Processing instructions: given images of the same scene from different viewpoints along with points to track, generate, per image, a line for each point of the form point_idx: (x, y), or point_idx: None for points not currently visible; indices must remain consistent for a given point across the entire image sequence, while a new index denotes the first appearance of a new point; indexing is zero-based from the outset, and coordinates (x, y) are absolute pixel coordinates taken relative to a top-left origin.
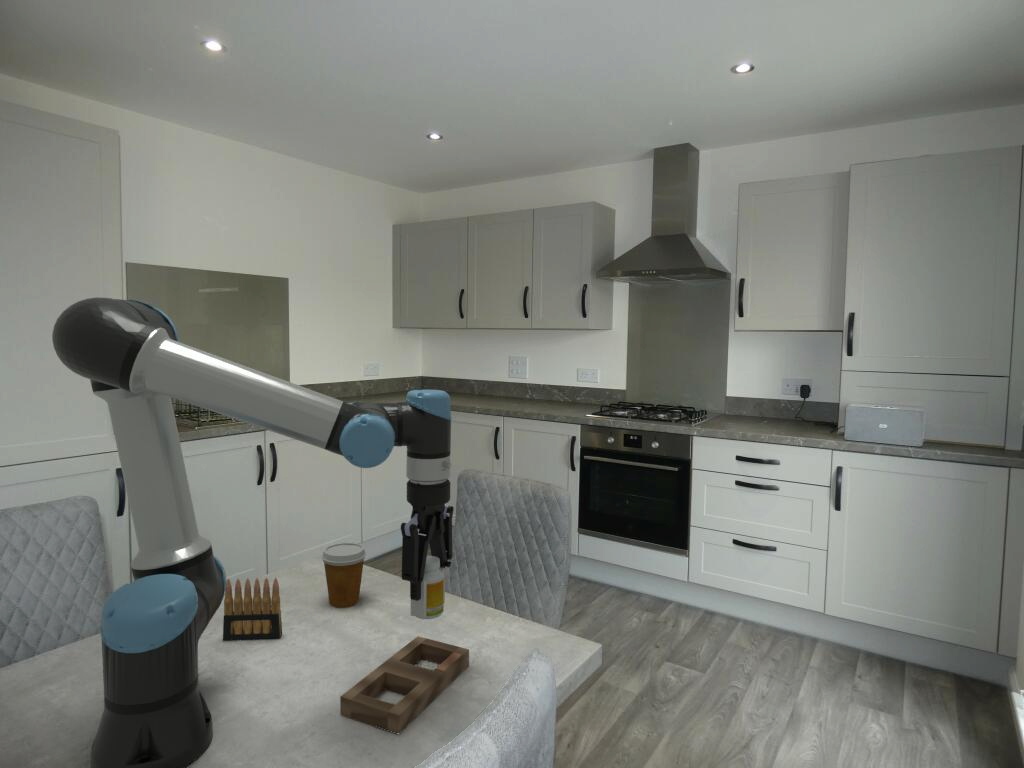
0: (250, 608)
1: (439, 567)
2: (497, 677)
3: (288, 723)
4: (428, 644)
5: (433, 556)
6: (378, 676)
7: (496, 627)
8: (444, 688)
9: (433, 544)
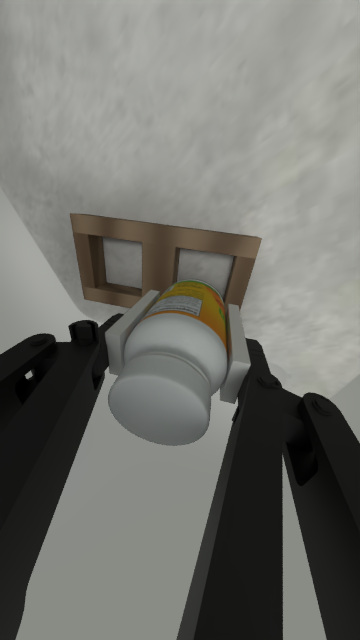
0: None
1: (236, 389)
2: None
3: (39, 154)
4: (235, 269)
5: (202, 426)
6: (128, 238)
7: (355, 326)
8: None
9: (219, 498)
